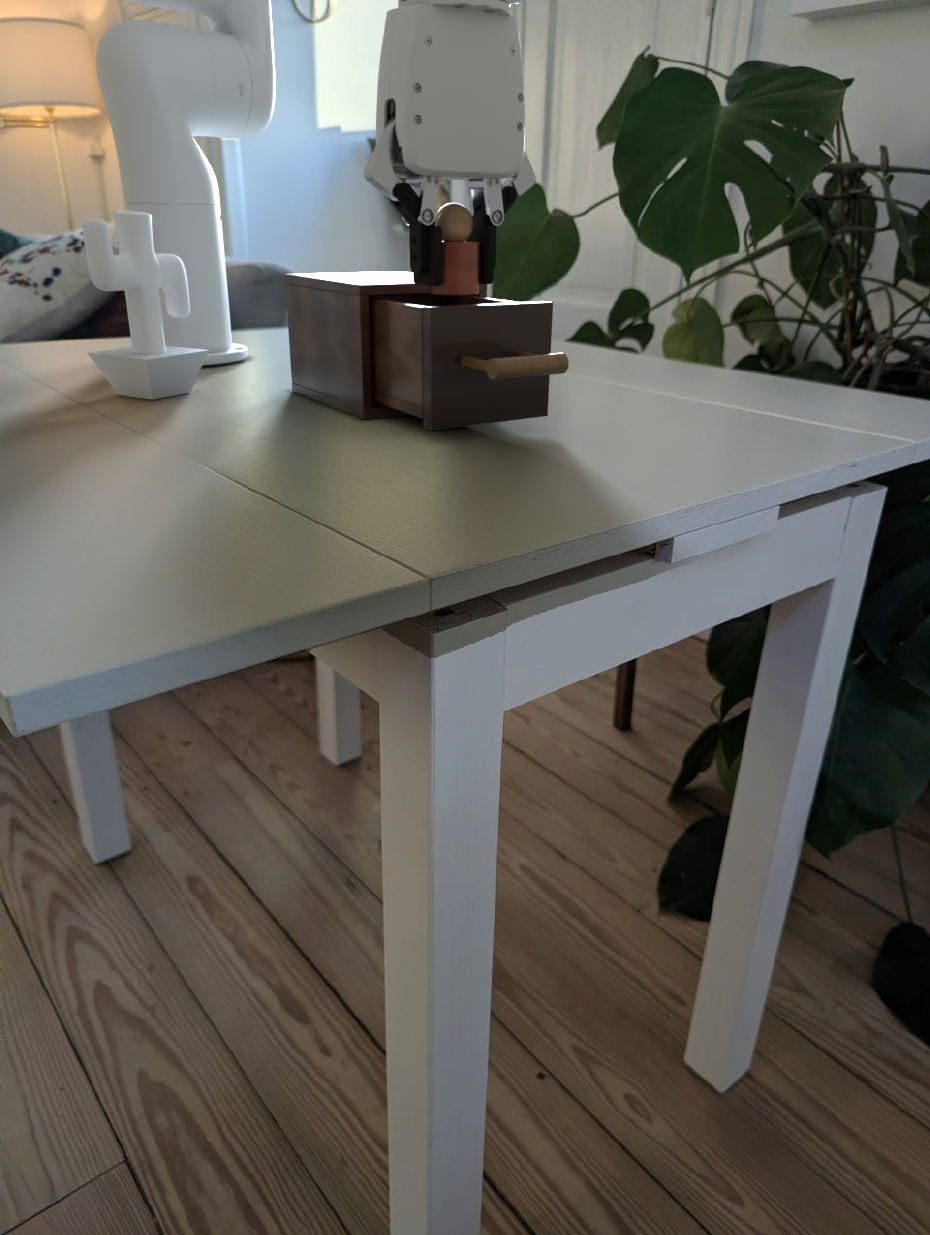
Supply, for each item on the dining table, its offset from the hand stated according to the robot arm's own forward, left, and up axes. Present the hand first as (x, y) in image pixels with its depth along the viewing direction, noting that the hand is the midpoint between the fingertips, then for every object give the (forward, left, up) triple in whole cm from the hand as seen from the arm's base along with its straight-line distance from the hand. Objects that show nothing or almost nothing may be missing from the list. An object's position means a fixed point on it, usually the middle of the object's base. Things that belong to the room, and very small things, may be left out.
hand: (453, 281), depth 68 cm
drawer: (+1, 0, -10) cm, 10 cm away
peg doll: (0, 0, -1) cm, 1 cm away
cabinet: (-11, 0, -10) cm, 15 cm away
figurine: (-23, -17, -11) cm, 31 cm away
